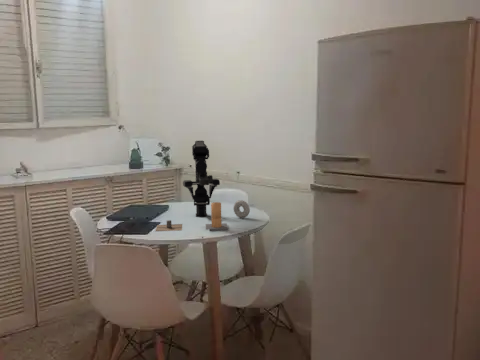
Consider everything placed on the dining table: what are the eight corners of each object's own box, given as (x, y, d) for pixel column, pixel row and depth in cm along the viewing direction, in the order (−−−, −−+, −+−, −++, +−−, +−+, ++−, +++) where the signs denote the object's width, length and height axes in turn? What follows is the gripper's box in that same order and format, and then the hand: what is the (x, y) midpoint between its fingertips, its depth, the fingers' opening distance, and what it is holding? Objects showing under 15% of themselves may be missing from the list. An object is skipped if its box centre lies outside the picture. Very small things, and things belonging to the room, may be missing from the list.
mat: (205, 226, 257) (205, 224, 257) (226, 225, 258) (226, 223, 258) (206, 231, 246) (206, 229, 246) (228, 230, 248) (228, 228, 247)
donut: (232, 217, 276) (232, 200, 274) (235, 216, 279) (235, 198, 277) (247, 219, 270) (247, 201, 269) (251, 218, 273) (250, 200, 272)
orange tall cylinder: (209, 226, 252) (209, 203, 250) (216, 224, 256) (216, 201, 254) (216, 227, 249) (216, 204, 247) (223, 226, 252) (223, 202, 251)
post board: (157, 226, 257) (156, 218, 256) (182, 225, 258) (182, 217, 257) (155, 233, 244) (155, 224, 243) (182, 232, 245) (181, 223, 245)
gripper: (186, 172, 250) (187, 202, 252) (222, 170, 256) (222, 200, 258) (182, 169, 260) (183, 199, 263) (216, 168, 266) (217, 196, 268)
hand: (201, 198), depth 263 cm, fingers open, 9 cm apart
